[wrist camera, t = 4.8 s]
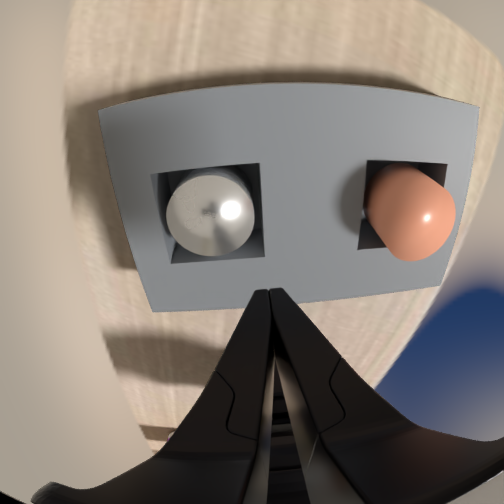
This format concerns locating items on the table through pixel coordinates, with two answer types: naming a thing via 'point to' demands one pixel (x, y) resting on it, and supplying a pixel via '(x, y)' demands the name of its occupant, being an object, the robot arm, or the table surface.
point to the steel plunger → (211, 210)
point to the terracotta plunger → (408, 211)
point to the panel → (283, 185)
